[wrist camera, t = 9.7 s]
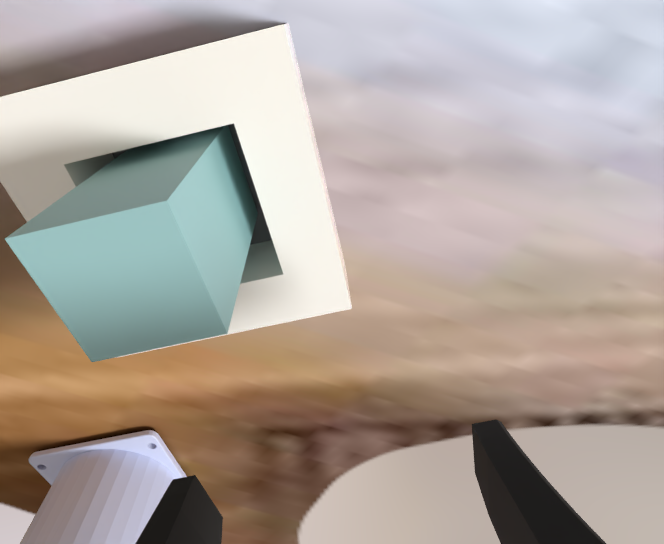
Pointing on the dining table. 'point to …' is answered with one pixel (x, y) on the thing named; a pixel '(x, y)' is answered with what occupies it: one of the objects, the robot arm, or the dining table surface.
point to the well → (186, 118)
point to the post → (146, 246)
